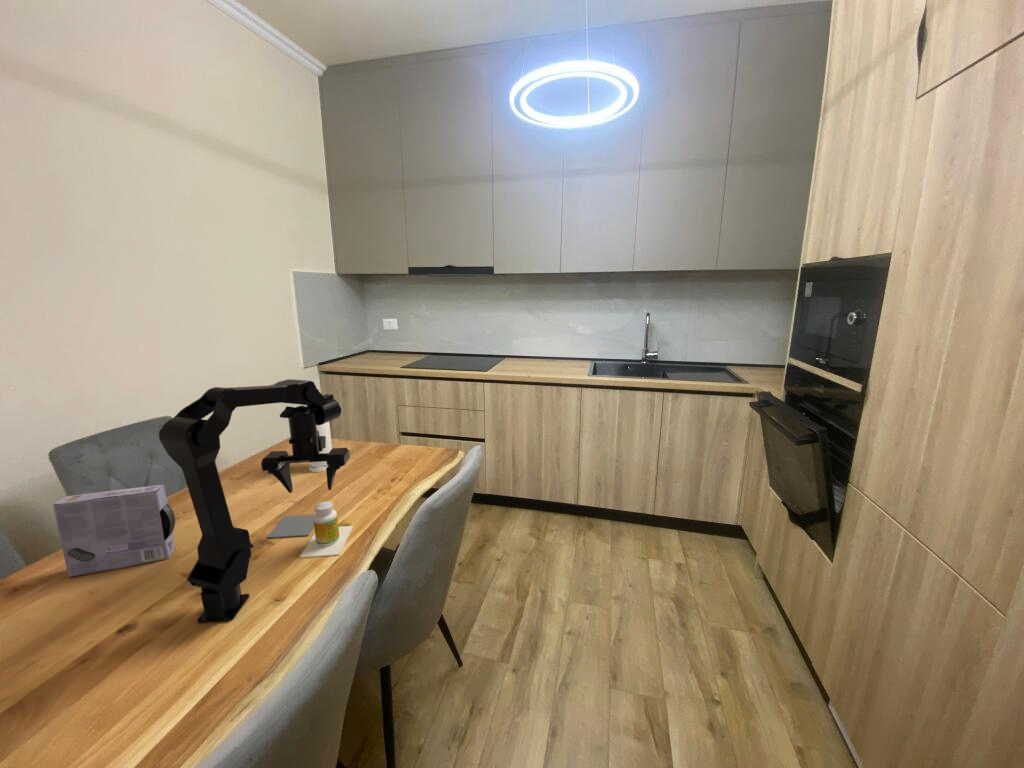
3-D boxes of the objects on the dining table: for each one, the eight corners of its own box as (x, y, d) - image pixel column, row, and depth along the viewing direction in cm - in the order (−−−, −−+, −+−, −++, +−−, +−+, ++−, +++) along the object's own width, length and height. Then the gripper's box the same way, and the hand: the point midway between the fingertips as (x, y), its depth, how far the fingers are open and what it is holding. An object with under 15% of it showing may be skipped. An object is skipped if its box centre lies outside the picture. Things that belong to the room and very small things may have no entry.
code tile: (339, 555, 97) (339, 554, 97) (299, 558, 96) (299, 556, 96) (353, 526, 108) (353, 525, 108) (318, 529, 107) (317, 528, 107)
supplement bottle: (330, 548, 99) (326, 512, 97) (311, 545, 100) (306, 510, 98) (344, 535, 104) (340, 501, 102) (325, 533, 105) (321, 499, 103)
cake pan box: (182, 546, 100) (168, 481, 96) (174, 558, 96) (159, 490, 92) (81, 565, 94) (61, 495, 90) (67, 579, 89) (46, 506, 85)
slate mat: (307, 536, 104) (307, 534, 104) (266, 538, 103) (266, 537, 103) (321, 515, 114) (321, 513, 114) (284, 517, 113) (283, 516, 113)
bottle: (311, 464, 147) (301, 389, 141) (335, 461, 150) (327, 388, 143) (307, 473, 140) (297, 395, 134) (332, 470, 142) (324, 393, 136)
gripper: (352, 419, 106) (357, 474, 110) (276, 422, 104) (283, 479, 107) (340, 433, 95) (346, 494, 99) (255, 437, 93) (264, 499, 96)
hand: (310, 490), depth 100 cm, fingers open, 9 cm apart
